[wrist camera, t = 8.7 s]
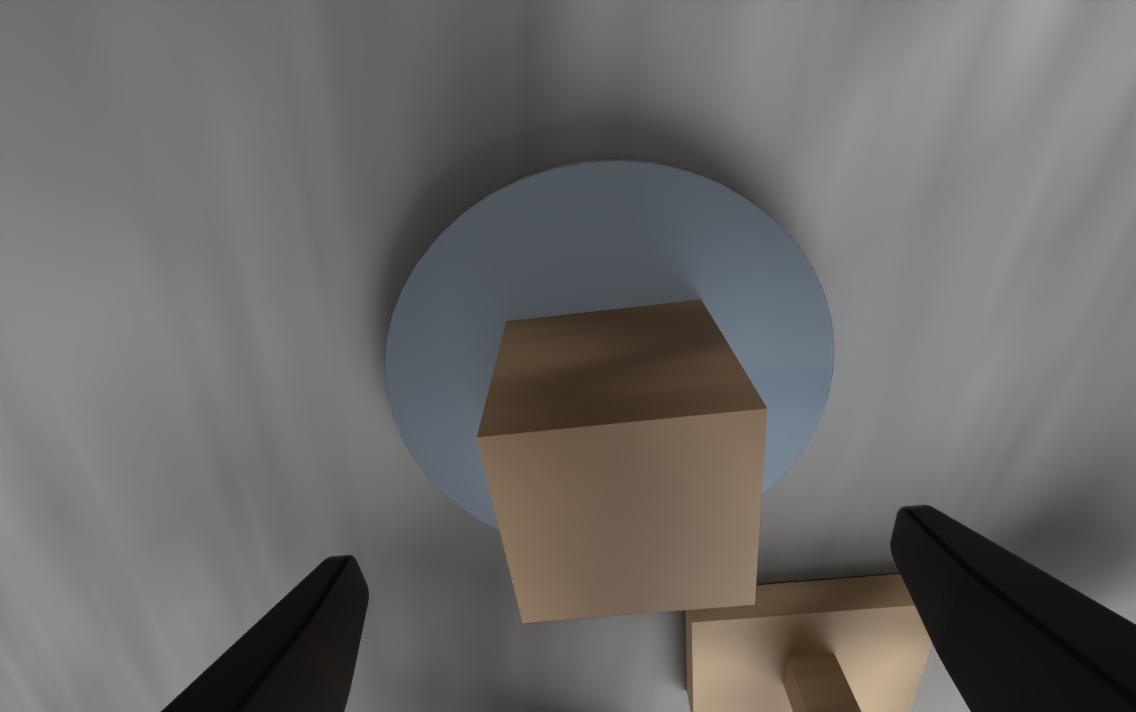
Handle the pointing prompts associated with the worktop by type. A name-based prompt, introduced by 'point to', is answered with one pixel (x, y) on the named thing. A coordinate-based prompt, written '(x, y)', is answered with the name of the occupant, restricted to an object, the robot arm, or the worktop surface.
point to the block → (624, 463)
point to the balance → (809, 649)
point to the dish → (601, 300)
